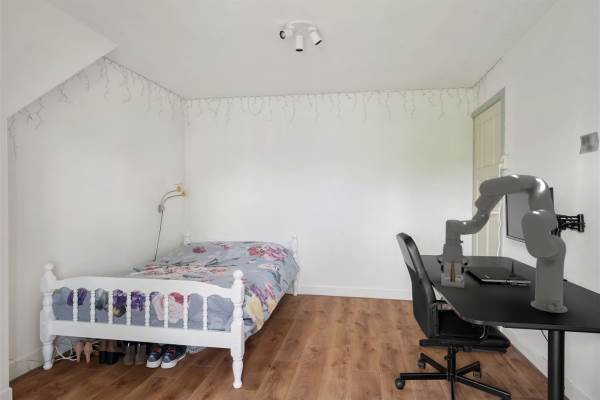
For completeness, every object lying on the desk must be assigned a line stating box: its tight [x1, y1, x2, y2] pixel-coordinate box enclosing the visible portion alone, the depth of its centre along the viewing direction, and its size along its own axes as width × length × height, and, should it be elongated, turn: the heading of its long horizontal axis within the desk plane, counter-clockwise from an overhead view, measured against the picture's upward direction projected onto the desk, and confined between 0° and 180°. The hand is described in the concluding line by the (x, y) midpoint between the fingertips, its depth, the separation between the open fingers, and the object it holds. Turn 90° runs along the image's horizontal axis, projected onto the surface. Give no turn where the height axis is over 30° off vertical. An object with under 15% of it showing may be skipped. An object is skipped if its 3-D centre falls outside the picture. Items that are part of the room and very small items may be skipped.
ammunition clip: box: [450, 261, 456, 282], centre depth 180 cm, size 11×2×12 cm, turn 157°
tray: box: [440, 273, 465, 289], centre depth 181 cm, size 18×11×2 cm, turn 157°
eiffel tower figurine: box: [502, 260, 528, 287], centre depth 182 cm, size 15×10×13 cm
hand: (452, 273), depth 181 cm, fingers open, 9 cm apart
